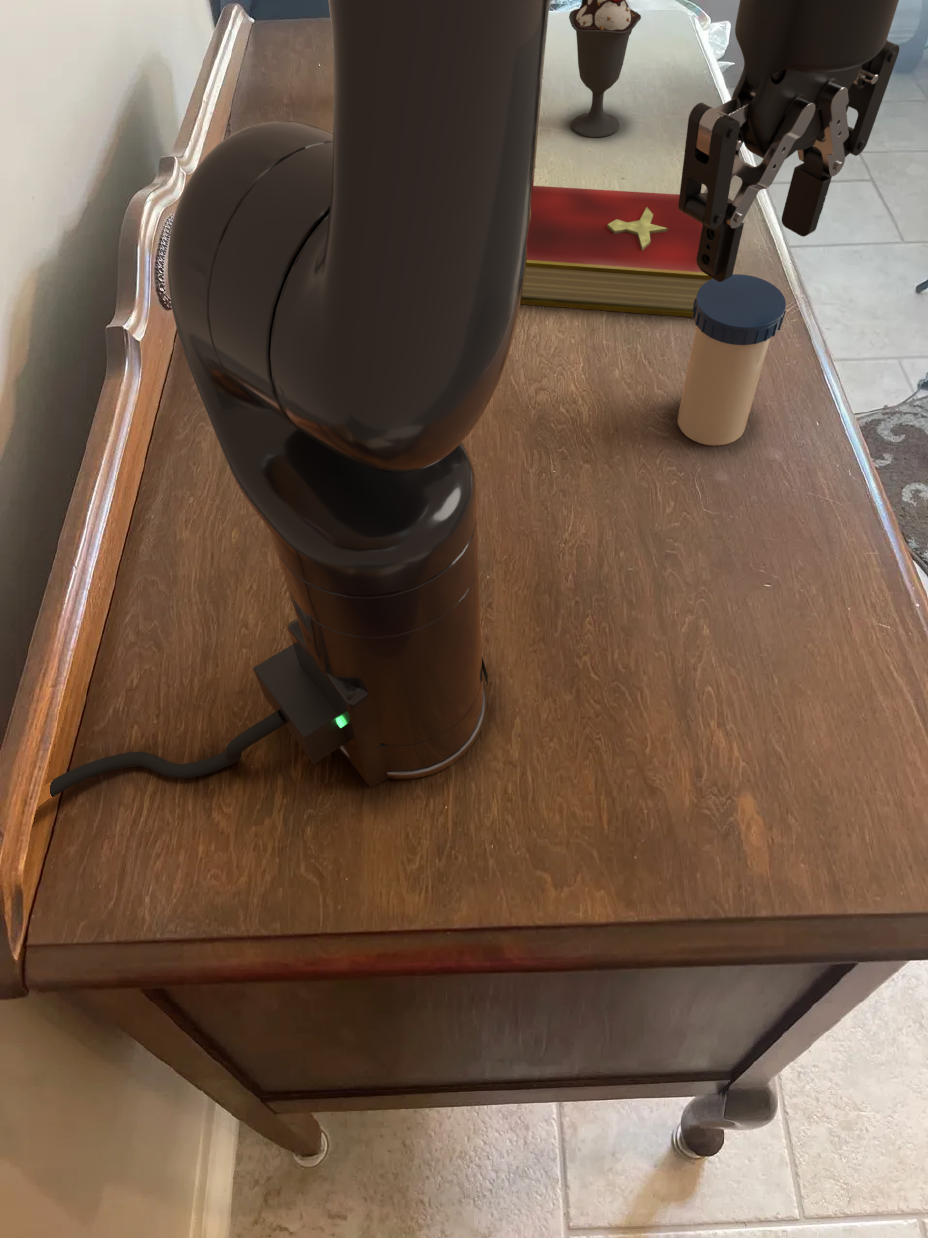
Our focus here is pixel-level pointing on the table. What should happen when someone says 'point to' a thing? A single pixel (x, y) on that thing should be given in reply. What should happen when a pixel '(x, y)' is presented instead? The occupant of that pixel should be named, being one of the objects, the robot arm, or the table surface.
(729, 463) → the table surface
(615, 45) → the sundae
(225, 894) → the table surface
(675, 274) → the hardcover book
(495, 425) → the table surface
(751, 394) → the jar
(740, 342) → the jar lid
